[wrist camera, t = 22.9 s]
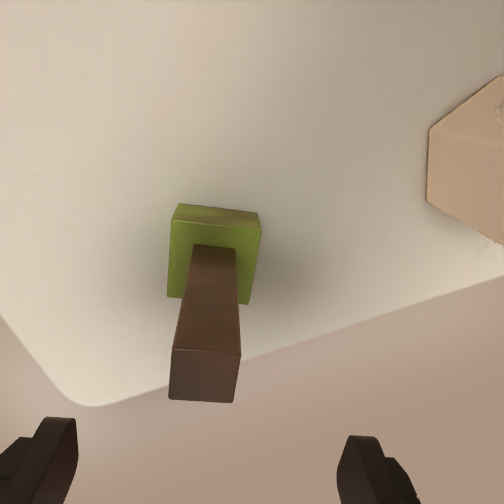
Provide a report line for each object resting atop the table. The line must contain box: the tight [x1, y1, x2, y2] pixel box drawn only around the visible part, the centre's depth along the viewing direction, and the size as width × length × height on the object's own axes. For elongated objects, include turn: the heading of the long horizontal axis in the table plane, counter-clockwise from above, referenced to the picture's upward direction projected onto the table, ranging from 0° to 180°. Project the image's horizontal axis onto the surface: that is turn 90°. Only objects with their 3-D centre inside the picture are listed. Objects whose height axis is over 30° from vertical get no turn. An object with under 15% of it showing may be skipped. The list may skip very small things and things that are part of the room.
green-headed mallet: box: [167, 204, 262, 403], centre depth 19 cm, size 5×5×12 cm
